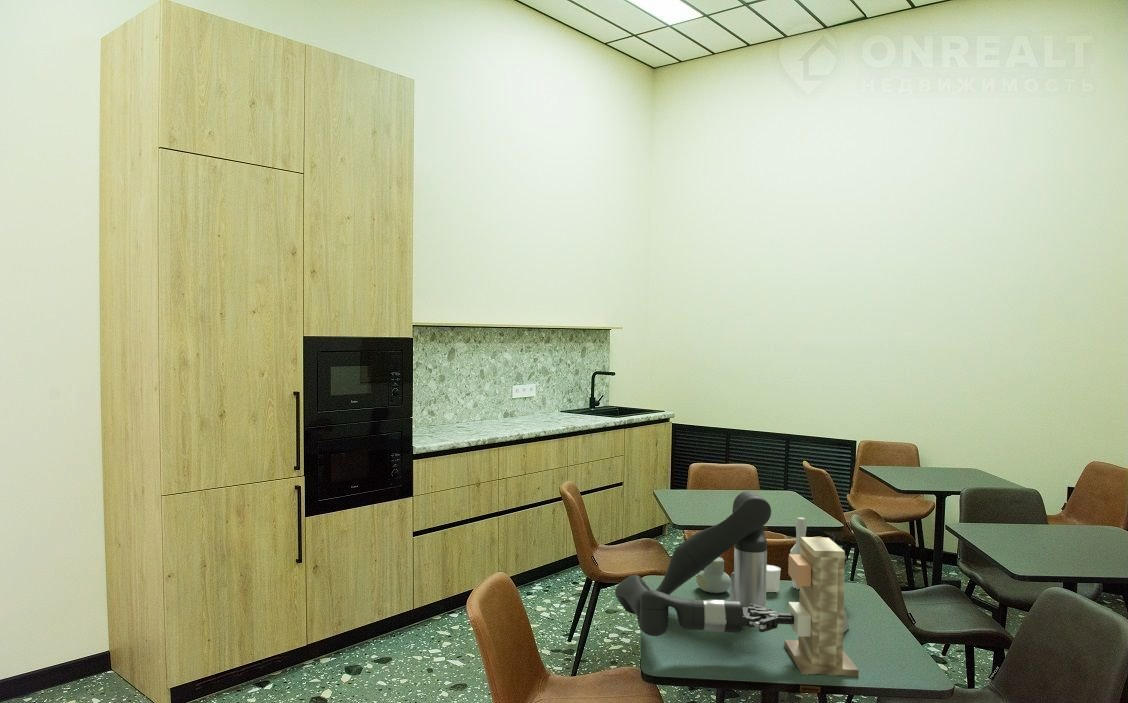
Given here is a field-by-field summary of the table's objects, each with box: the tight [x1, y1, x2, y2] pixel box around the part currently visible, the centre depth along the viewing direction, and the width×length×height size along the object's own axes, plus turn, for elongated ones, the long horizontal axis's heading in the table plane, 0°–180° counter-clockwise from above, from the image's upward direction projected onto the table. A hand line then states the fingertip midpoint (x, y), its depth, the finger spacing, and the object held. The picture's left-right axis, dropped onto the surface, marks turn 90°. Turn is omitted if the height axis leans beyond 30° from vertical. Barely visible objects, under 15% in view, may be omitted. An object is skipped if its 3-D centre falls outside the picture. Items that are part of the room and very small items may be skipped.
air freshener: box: [696, 556, 731, 594], centre depth 227 cm, size 11×8×10 cm
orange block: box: [787, 553, 811, 586], centre depth 178 cm, size 8×9×5 cm
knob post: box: [783, 536, 860, 677], centre depth 178 cm, size 13×16×28 cm
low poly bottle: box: [789, 516, 808, 590], centre depth 231 cm, size 6×6×22 cm
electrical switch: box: [843, 606, 850, 634], centre depth 197 cm, size 9×5×9 cm, turn 141°
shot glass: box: [766, 564, 782, 593], centre depth 229 cm, size 7×7×7 cm
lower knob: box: [787, 601, 811, 637], centre depth 178 cm, size 8×9×5 cm
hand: (793, 619), depth 178 cm, fingers closed
